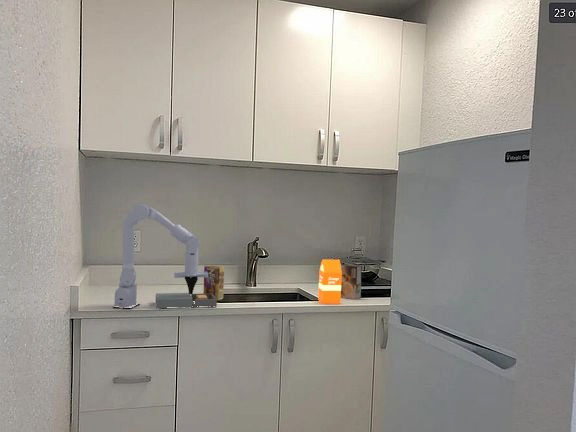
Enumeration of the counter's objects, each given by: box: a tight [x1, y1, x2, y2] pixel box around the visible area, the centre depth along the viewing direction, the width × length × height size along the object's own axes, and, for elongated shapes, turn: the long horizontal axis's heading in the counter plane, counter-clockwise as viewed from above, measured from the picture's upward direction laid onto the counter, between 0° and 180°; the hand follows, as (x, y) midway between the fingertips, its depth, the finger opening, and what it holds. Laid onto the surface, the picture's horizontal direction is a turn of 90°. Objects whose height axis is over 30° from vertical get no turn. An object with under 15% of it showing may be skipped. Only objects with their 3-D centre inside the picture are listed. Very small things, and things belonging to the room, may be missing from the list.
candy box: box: [203, 264, 225, 301], centre depth 238 cm, size 9×4×15 cm, turn 62°
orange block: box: [196, 295, 208, 299], centre depth 226 cm, size 4×6×3 cm, turn 18°
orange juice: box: [317, 259, 342, 304], centre depth 241 cm, size 8×9×20 cm
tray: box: [190, 292, 218, 308], centre depth 225 cm, size 10×13×4 cm
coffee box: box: [340, 263, 363, 300], centre depth 253 cm, size 9×6×16 cm
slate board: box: [155, 292, 193, 309], centre depth 222 cm, size 14×13×4 cm
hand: (190, 293), depth 224 cm, fingers closed
